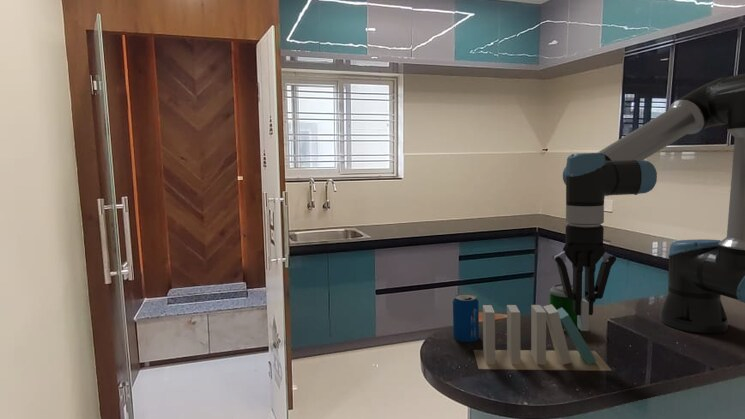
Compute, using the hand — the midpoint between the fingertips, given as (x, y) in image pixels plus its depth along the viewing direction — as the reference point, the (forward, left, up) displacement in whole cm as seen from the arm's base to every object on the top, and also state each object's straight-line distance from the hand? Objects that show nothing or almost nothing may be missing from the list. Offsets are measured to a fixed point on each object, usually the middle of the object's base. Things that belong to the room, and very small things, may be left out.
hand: (582, 328), depth 101 cm
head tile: (-1, 0, -7) cm, 7 cm away
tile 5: (+21, 0, -7) cm, 22 cm away
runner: (+10, 0, -9) cm, 13 cm away
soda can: (-2, -21, -9) cm, 23 cm away
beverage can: (+25, -13, -9) cm, 29 cm away
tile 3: (+10, 0, -7) cm, 12 cm away
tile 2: (+4, 0, -7) cm, 8 cm away
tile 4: (+15, 0, -7) cm, 17 cm away
